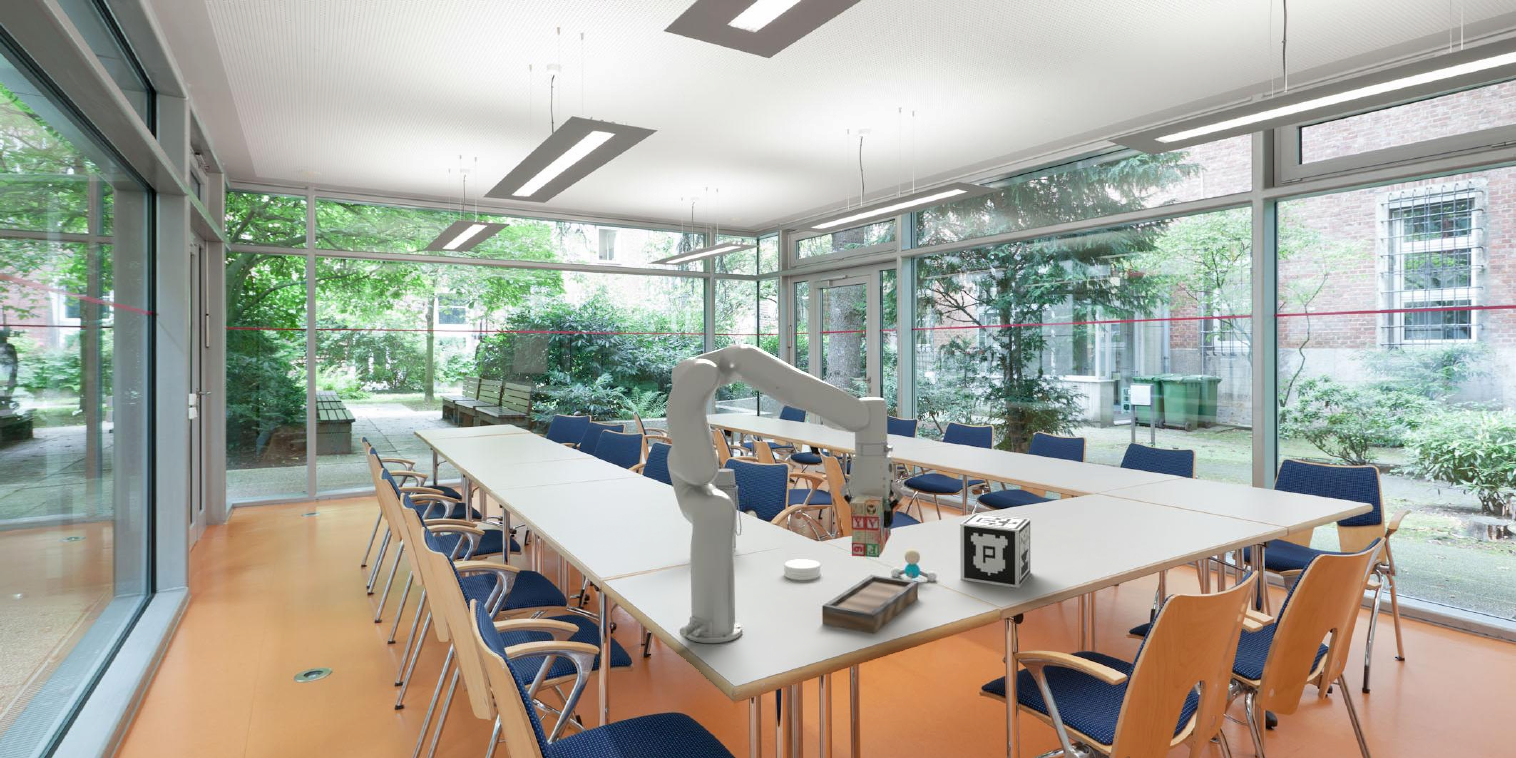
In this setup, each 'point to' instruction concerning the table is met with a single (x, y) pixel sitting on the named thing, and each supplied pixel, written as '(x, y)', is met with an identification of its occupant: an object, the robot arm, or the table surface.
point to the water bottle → (728, 490)
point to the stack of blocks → (868, 526)
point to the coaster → (802, 569)
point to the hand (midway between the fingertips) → (871, 524)
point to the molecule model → (913, 567)
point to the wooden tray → (870, 603)
